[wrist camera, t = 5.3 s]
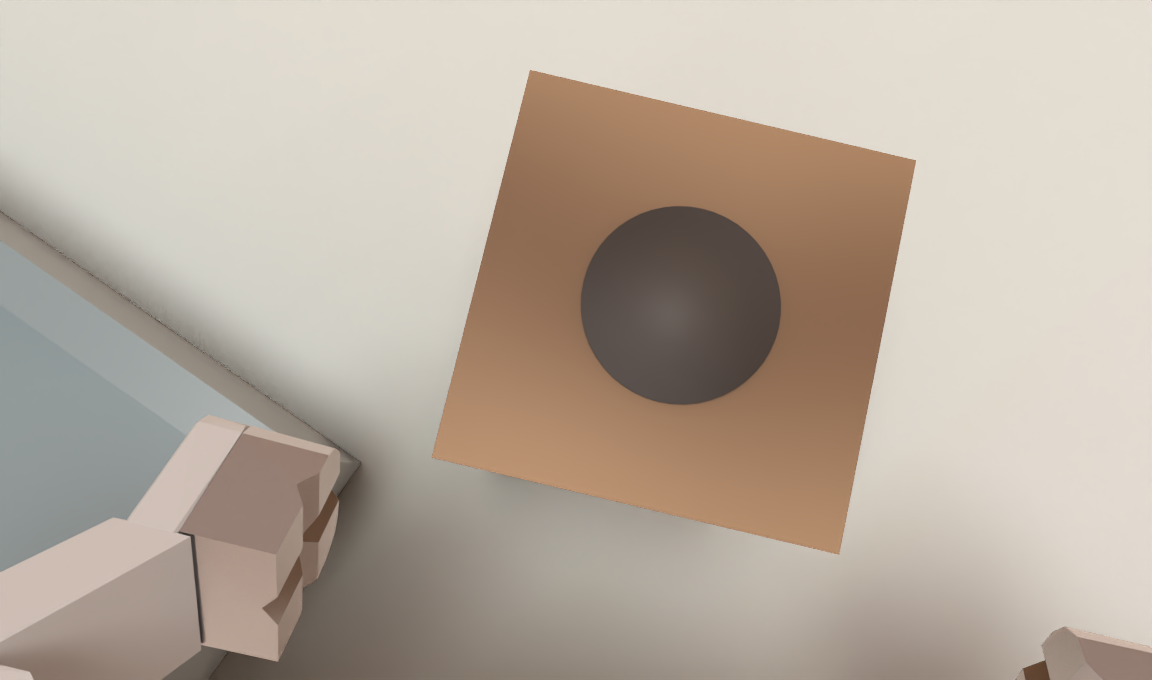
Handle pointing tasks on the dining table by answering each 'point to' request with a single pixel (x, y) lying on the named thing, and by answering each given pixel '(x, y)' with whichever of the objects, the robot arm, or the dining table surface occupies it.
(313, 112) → the dining table surface
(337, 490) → the tray
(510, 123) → the dining table surface
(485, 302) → the walnut block
